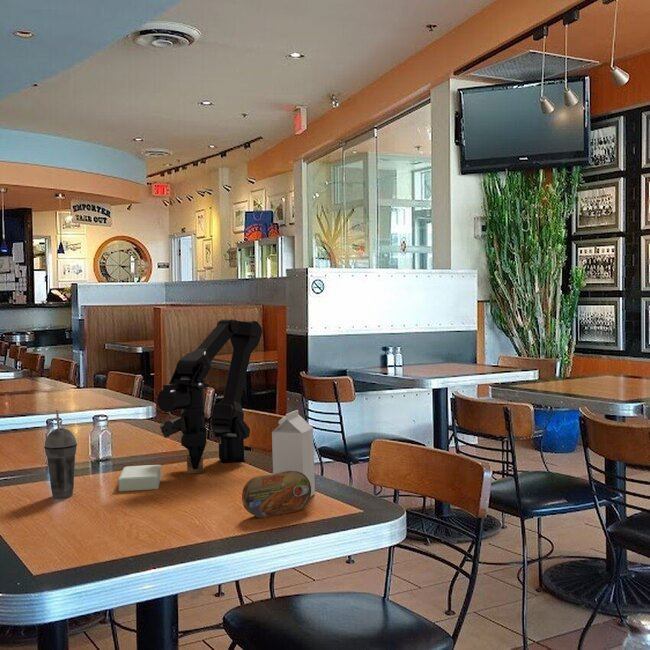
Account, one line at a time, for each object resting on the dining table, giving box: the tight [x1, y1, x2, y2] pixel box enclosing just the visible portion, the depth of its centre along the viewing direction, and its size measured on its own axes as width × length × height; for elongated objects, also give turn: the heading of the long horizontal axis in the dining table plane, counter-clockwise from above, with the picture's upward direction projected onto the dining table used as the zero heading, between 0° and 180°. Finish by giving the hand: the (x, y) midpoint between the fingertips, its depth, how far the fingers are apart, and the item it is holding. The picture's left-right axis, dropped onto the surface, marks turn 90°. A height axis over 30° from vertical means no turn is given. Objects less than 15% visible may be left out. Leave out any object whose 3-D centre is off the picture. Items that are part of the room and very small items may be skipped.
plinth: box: [117, 464, 162, 492], centre depth 196 cm, size 9×14×3 cm, turn 9°
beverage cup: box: [43, 409, 78, 499], centre depth 185 cm, size 7×7×20 cm
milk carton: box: [271, 409, 316, 498], centre depth 178 cm, size 7×7×19 cm
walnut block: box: [186, 453, 204, 474], centre depth 208 cm, size 4×4×4 cm
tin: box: [241, 471, 312, 519], centre depth 166 cm, size 15×3×8 cm, turn 120°
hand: (195, 467), depth 208 cm, fingers closed on walnut block, 4 cm apart
